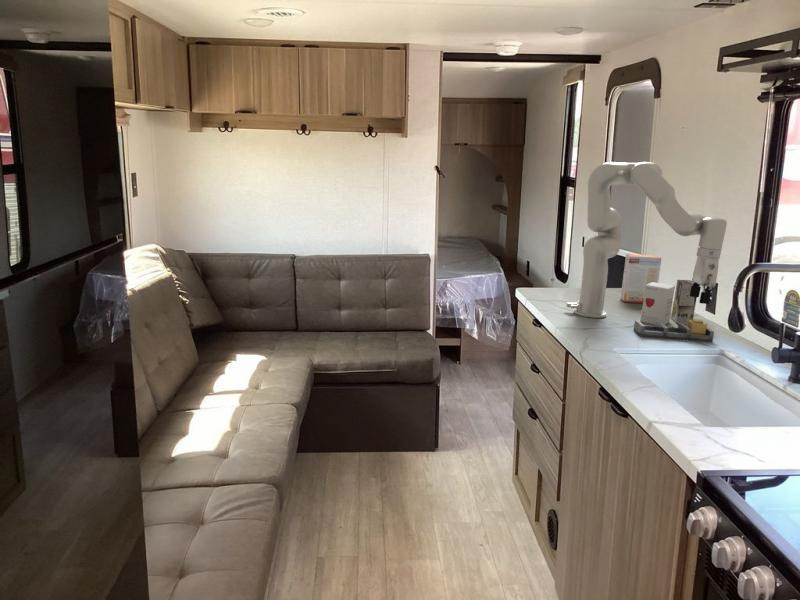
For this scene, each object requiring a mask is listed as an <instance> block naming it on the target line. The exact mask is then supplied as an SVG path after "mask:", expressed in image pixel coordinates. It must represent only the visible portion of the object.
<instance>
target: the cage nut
mask: <svg viewBox="0 0 800 600" xmlns="http://www.w3.org/2000/svg"><path fill="white" fill-rule="evenodd" d="M686 326H687V327H688V328H690V329H691V330H692V331H691V334H698V335H705V333H706V328H707V327H708V323H706V322H705V321H703V320H702V319H698V318H697V319H696V318H693V319H692V320H688V321H687V324H686Z"/></svg>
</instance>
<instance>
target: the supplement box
mask: <svg viewBox="0 0 800 600" xmlns="http://www.w3.org/2000/svg"><path fill="white" fill-rule="evenodd" d="M675 291H676V285H671V284H666V283H660V282H658V283H655V282H651V283H649V284H647V285H646V287H645V294H644V300H643V303H642V307H641V313H640V319H639V321H640V322H641V323H645V324H650V325H653V326H656V322H657V321H659V322H662V323H663V324H664V325H665V326H666V325H668V323H670V317H671V314H672V313H671V311H672V308H673V306H672V305H673V302H674V296H675Z"/></svg>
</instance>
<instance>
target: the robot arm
mask: <svg viewBox="0 0 800 600" xmlns="http://www.w3.org/2000/svg"><path fill="white" fill-rule="evenodd" d="M611 186H637V188H638V189H639V190H641V192H642V193H643V194H644V195H645V196H646V197H647V199H649V201H651V203H653V205H654V206H655V209H656V210H657V212H658V213H659V215H660V217H661V218H662V219H663V221H664V222H665V223H666V224H667V225H668V226H669V227H670V228H671V229H672V230H673V231H674V232H675V233H676V234H678V235H679V236H682V237H690V236H691V237H692V236H699V241H698V245H697V251H696V256H695V257H696V260H695V265H694V268H693V271H692V278H691V281H693V282H692V285H693V286H691V291H690V296H691V297H697V298H699V297H700V298H699V304H701V305H702V304H704V305H709V304H710V300H711V297H712V293H713V289H714V287H715V286H716V283H717V279H718V272H719V263H720V261H719V260H720V258H721V254H722V248H723V244H724V239H725V234H726V230H727V227H728V226H727V225H728V222H727V219H724V218H720V217H712V216H709V217H708V216H705V215H703V214H702V215H701V214H697V213H688V211H686V210H685V208H683V207H682V205H681V204H680V203H679V201H678V200H677V198H676V191H675V188H674V187H673V185H671V183H669V182H668V180H666V179H665V177H664V176H663V172H662V168H661V166H660V165H658V164H657V163H655V162H651V161H650V162H648V161H643V162H642V161H641V162H616V161H614V162H613V161H610V162H609V161H608V162H604V163H602V164H600V165H598V166H597V167H595V168H594V169H593V170H592V172H591V173H590V175H589V177H588V182H587V221H586V222H587V227H588V228H589V230H590V231H591V232H594V233H597V235H596V236H593V237H590V238H589V239H588V240H587V241H586V242H585V243H584V246H583V255H582V256H583V267H582V277H581V284H580V293H579V299H578V300H577V301H576V302H566V308H570V309H574V310H573V313H574V314H575V315H578V316H581V317H585V318H593V319H601V318H606V317H607V312H606V311H604V306H605V298H606V290H607V285H608V284H607V282H608V275H609V261H608V259H610V258H611V259H612V258H615V257H616V256H617V255H618V253H619V252H620V250H621V242H622V240H621V237H622V219H621V215H620V213H619V211H618V210H616V209H615V208H613V207H611V200H612V199H611V196H612V195H611V192H610V187H611ZM701 289H702V290H701Z"/></svg>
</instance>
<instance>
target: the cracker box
mask: <svg viewBox="0 0 800 600" xmlns="http://www.w3.org/2000/svg"><path fill="white" fill-rule="evenodd" d="M661 264H662V257H660V256H658V255H648V254H625V262H624V267H623V268H624V270H623V277H622V284H621V285H622V286H621V292H620V300H621V301H622V302H623V303H632V304H633V303H634V304H637V303H638V304H643V300H644V294H645V287H646V285H647V284H649V283H651V282H655V283H659V280H660V279H659V278H660V272H661V267H662V266H661Z"/></svg>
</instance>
